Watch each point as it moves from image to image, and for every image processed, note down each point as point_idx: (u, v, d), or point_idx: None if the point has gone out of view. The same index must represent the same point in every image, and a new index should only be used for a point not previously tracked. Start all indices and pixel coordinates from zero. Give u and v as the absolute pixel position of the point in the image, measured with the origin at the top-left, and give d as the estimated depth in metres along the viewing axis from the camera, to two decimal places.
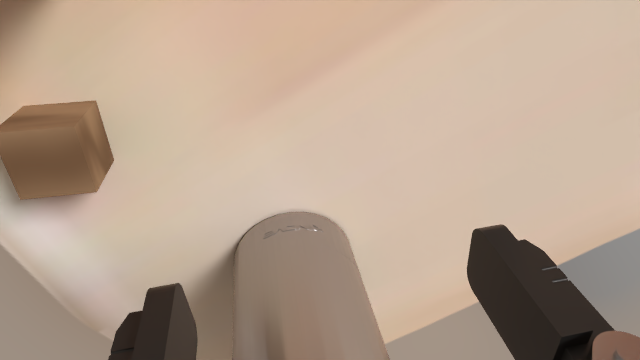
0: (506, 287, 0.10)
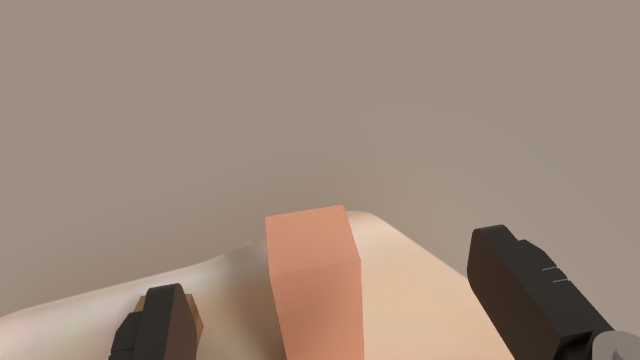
0: (506, 287, 0.10)
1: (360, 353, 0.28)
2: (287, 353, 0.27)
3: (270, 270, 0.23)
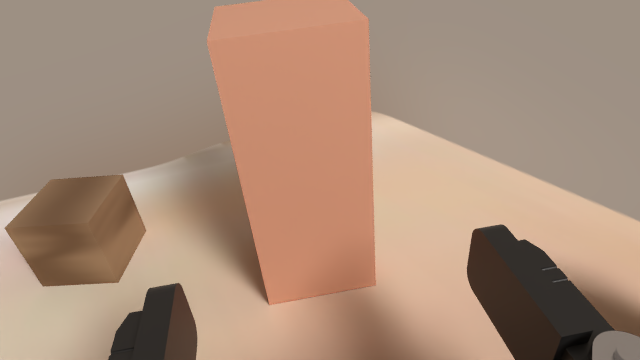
0: (506, 287, 0.10)
1: (368, 230, 0.18)
2: (252, 222, 0.17)
3: (210, 37, 0.13)
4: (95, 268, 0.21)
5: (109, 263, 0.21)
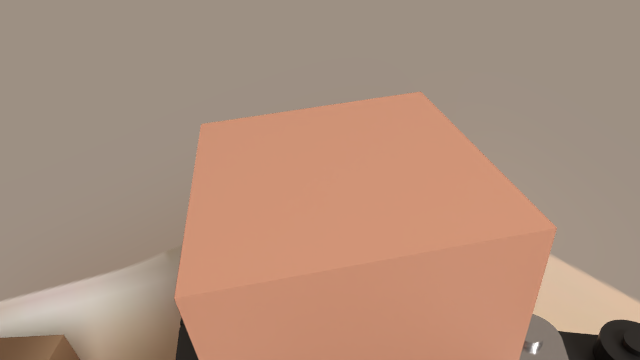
0: None
1: None
2: None
3: (184, 278, 0.05)
4: None
5: None
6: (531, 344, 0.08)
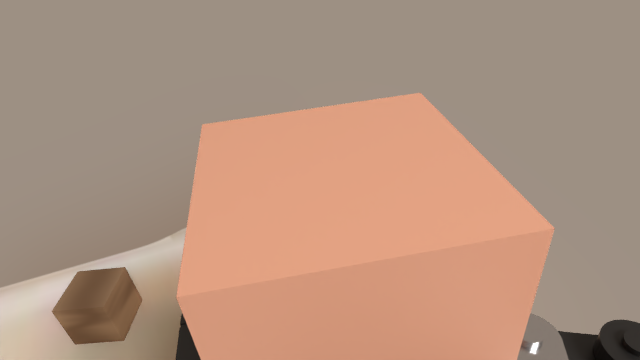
0: None
1: None
2: None
3: (186, 277, 0.06)
4: (109, 332, 0.33)
5: (118, 329, 0.33)
6: (531, 344, 0.08)
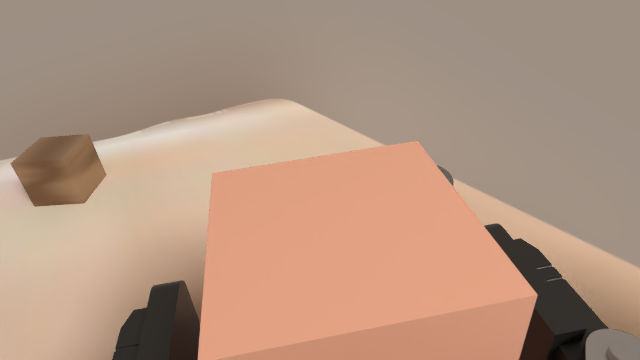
0: None
1: None
2: None
3: (205, 342, 0.06)
4: (69, 192, 0.33)
5: (78, 189, 0.33)
6: None
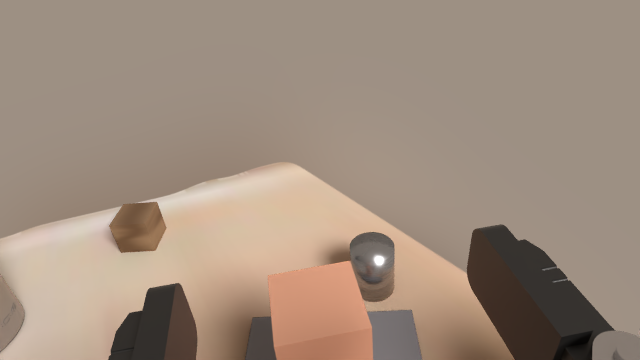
0: (506, 287, 0.10)
1: None
2: None
3: (275, 341, 0.21)
4: (145, 243, 0.48)
5: (152, 241, 0.48)
6: None
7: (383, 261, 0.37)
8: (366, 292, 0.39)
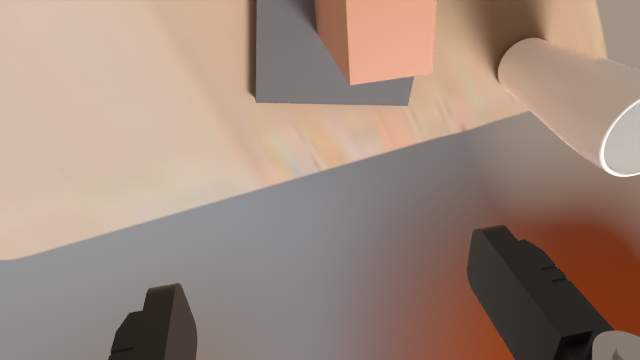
0: (506, 287, 0.10)
1: None
2: (329, 50, 0.31)
3: (351, 80, 0.25)
4: None
5: None
6: None
7: None
8: None
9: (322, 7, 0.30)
